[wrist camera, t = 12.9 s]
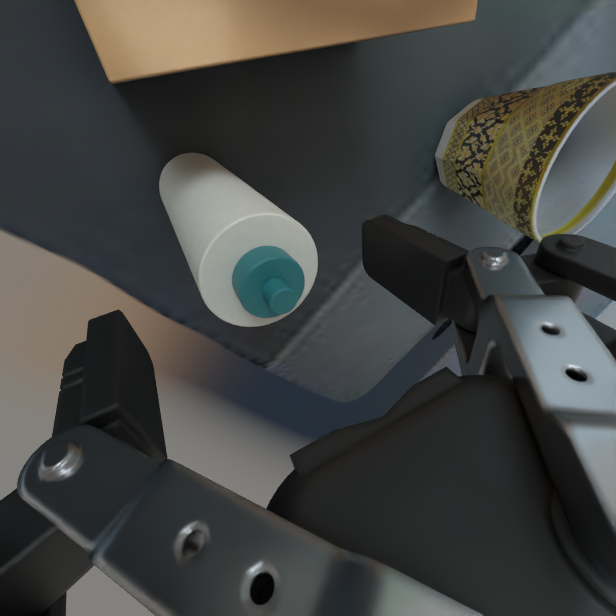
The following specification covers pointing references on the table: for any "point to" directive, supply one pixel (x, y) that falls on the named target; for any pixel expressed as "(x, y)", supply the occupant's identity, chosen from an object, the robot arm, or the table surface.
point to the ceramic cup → (536, 155)
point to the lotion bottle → (237, 242)
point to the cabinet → (245, 29)
